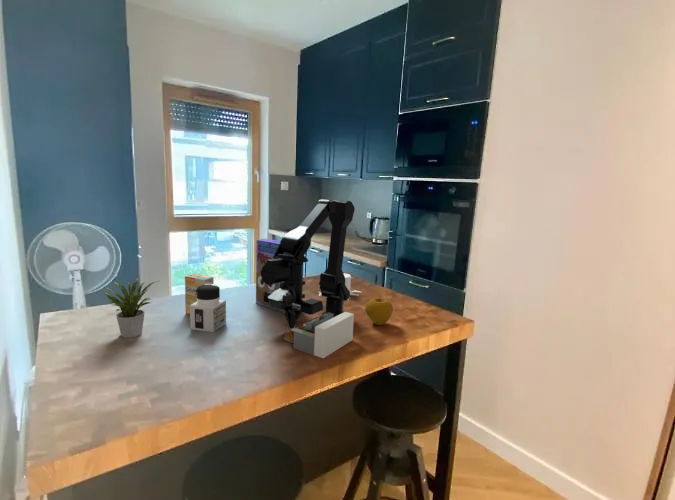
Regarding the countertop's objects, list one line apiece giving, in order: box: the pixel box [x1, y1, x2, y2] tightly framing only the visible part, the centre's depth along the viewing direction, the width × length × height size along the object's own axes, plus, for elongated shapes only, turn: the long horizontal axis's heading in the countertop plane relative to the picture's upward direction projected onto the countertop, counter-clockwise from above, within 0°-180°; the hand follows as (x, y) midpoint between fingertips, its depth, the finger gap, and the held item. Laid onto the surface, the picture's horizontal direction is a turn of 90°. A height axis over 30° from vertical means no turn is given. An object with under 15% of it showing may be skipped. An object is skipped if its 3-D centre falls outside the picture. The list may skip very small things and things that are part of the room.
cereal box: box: [255, 238, 292, 313], centre depth 133 cm, size 17×5×24 cm, turn 56°
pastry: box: [283, 326, 306, 344], centre depth 109 cm, size 9×7×4 cm
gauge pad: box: [303, 312, 334, 334], centre depth 106 cm, size 13×2×8 cm, turn 147°
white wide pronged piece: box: [318, 272, 361, 301], centre depth 156 cm, size 20×19×8 cm
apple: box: [364, 297, 394, 326], centre depth 123 cm, size 9×9×9 cm
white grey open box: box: [290, 311, 355, 359], centre depth 106 cm, size 15×11×8 cm
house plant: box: [103, 277, 160, 339], centre depth 107 cm, size 14×14×16 cm
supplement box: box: [184, 273, 215, 315], centre depth 124 cm, size 8×5×13 cm, turn 68°
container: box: [189, 284, 227, 333], centre depth 114 cm, size 8×8×13 cm
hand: (291, 328), depth 113 cm, fingers closed
